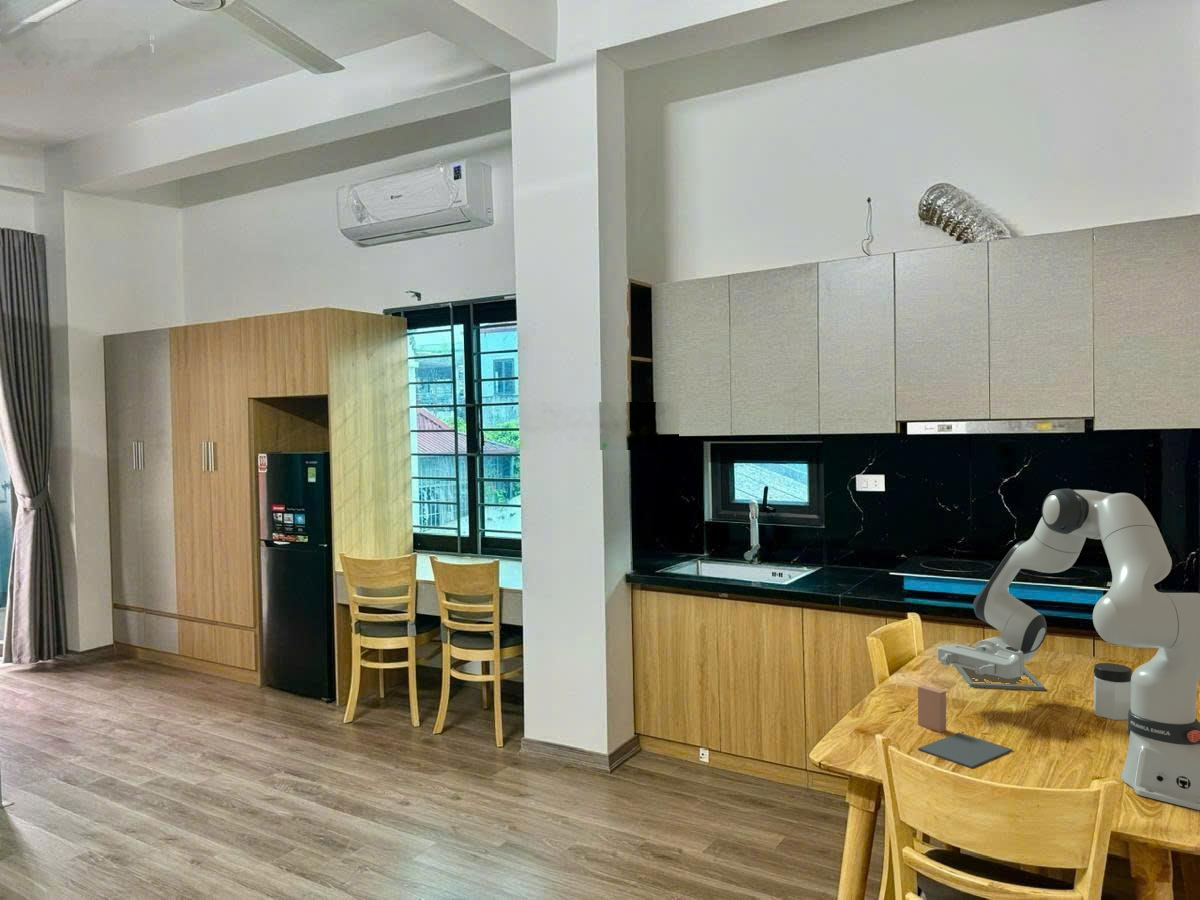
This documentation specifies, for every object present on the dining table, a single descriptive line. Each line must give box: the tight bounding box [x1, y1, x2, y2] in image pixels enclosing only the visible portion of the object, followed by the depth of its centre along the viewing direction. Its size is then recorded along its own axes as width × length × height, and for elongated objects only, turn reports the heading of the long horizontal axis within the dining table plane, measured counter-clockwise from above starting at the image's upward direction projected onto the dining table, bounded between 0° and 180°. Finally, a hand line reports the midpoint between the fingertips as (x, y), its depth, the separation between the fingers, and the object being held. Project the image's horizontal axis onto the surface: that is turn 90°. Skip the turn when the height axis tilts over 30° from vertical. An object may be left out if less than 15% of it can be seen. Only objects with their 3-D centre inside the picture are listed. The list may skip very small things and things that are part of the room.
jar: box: [1093, 662, 1133, 721], centre depth 215 cm, size 9×8×12 cm
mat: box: [917, 732, 1013, 769], centre depth 194 cm, size 13×16×1 cm
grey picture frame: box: [953, 665, 1046, 691], centre depth 251 cm, size 19×2×30 cm
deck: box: [917, 684, 947, 733], centre depth 208 cm, size 2×6×9 cm, turn 35°
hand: (960, 666), depth 216 cm, fingers open, 8 cm apart
